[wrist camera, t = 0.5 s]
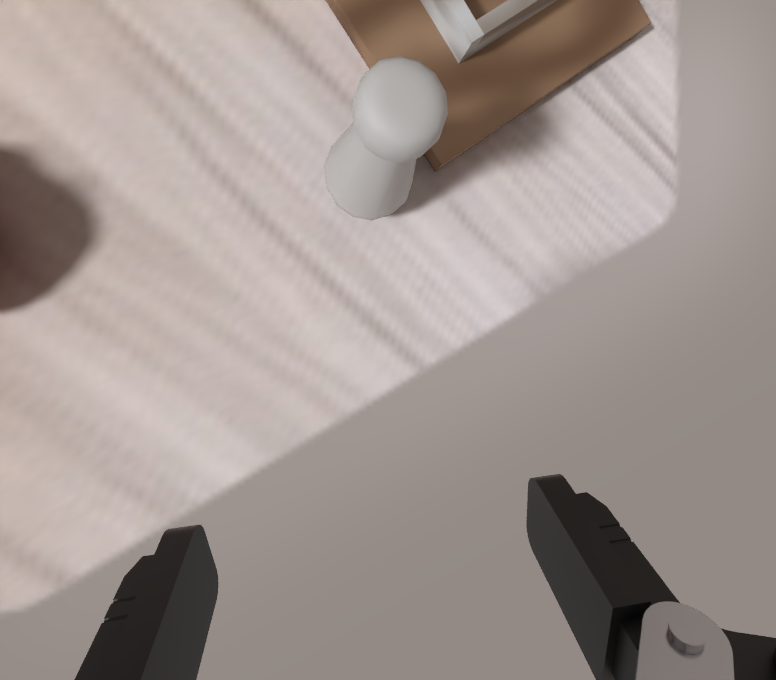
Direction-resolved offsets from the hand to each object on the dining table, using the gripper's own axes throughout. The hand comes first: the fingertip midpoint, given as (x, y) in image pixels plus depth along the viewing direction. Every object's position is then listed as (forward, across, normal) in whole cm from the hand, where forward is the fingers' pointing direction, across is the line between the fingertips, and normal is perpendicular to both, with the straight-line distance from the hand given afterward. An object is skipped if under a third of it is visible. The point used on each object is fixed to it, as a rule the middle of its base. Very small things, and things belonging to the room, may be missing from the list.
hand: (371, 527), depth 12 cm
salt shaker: (+26, -2, -6) cm, 27 cm away
